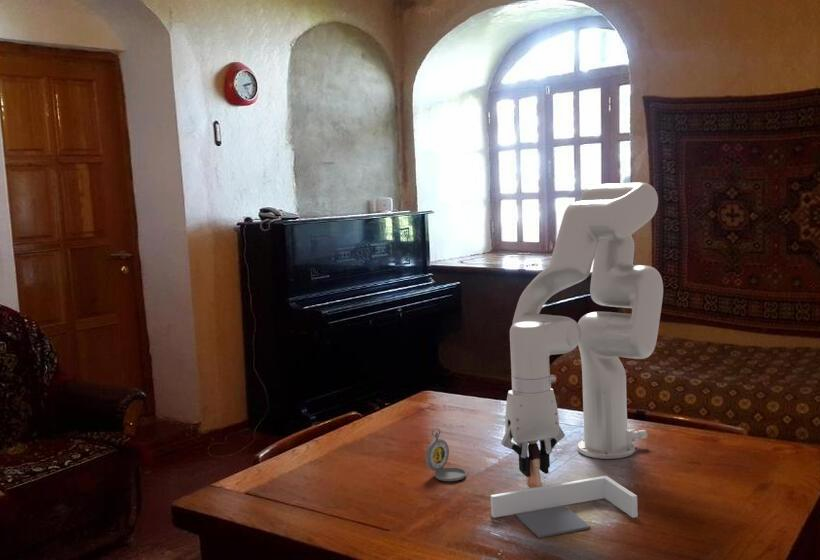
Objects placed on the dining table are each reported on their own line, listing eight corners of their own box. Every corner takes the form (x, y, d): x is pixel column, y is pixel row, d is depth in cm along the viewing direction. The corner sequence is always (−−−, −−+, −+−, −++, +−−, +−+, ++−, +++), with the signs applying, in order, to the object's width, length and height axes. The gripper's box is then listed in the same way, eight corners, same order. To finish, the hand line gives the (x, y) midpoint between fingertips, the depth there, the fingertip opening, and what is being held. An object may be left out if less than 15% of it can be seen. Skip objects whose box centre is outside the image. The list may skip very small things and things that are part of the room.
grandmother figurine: (521, 481, 165) (517, 422, 164) (539, 479, 166) (535, 420, 164) (531, 495, 158) (526, 433, 156) (550, 493, 158) (546, 431, 156)
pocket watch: (464, 483, 166) (461, 436, 165) (424, 482, 168) (421, 436, 167) (469, 469, 174) (466, 424, 173) (431, 468, 176) (428, 424, 175)
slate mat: (564, 507, 151) (564, 505, 151) (590, 528, 142) (590, 526, 142) (515, 516, 149) (515, 514, 148) (538, 538, 139) (538, 535, 139)
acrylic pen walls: (606, 495, 156) (606, 475, 155) (637, 516, 145) (637, 495, 145) (491, 515, 149) (490, 495, 149) (515, 539, 139) (514, 517, 138)
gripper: (560, 374, 165) (563, 461, 167) (485, 384, 160) (489, 473, 163) (577, 383, 158) (580, 473, 160) (499, 393, 153) (503, 486, 155)
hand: (534, 472), depth 161 cm, fingers closed on grandmother figurine, 3 cm apart
